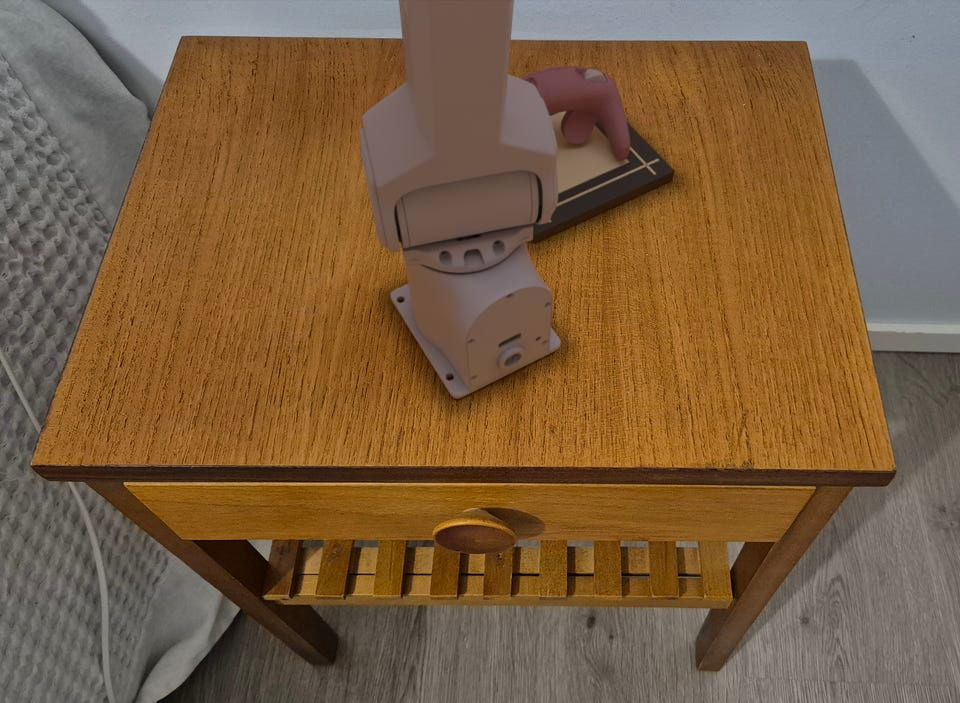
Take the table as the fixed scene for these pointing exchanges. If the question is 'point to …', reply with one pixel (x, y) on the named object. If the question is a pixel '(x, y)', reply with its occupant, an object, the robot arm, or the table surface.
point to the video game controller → (584, 104)
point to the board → (599, 177)
